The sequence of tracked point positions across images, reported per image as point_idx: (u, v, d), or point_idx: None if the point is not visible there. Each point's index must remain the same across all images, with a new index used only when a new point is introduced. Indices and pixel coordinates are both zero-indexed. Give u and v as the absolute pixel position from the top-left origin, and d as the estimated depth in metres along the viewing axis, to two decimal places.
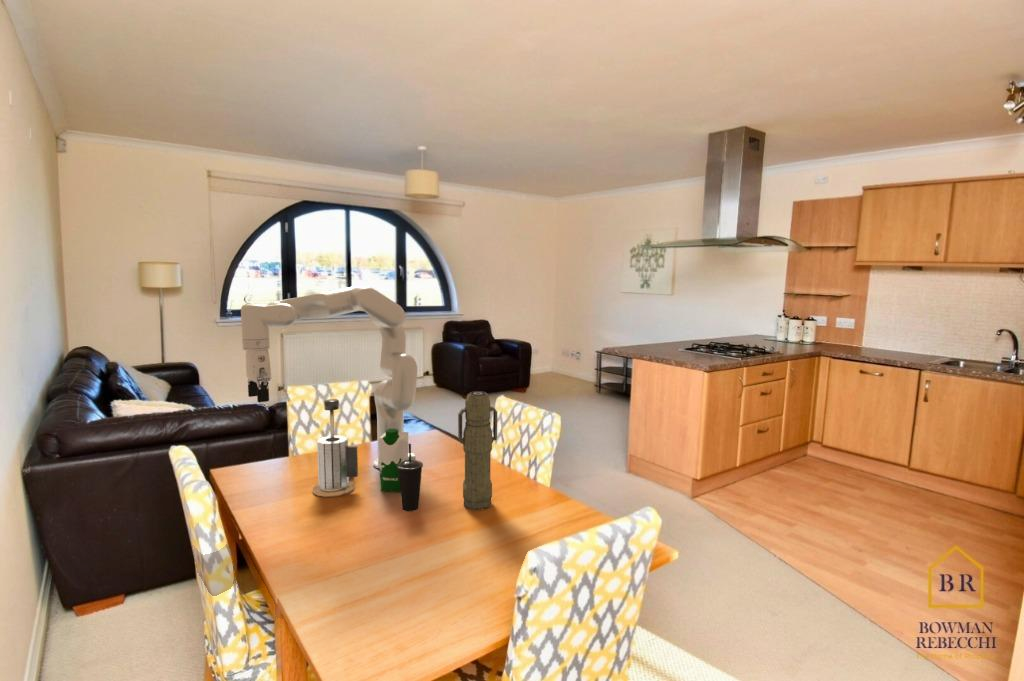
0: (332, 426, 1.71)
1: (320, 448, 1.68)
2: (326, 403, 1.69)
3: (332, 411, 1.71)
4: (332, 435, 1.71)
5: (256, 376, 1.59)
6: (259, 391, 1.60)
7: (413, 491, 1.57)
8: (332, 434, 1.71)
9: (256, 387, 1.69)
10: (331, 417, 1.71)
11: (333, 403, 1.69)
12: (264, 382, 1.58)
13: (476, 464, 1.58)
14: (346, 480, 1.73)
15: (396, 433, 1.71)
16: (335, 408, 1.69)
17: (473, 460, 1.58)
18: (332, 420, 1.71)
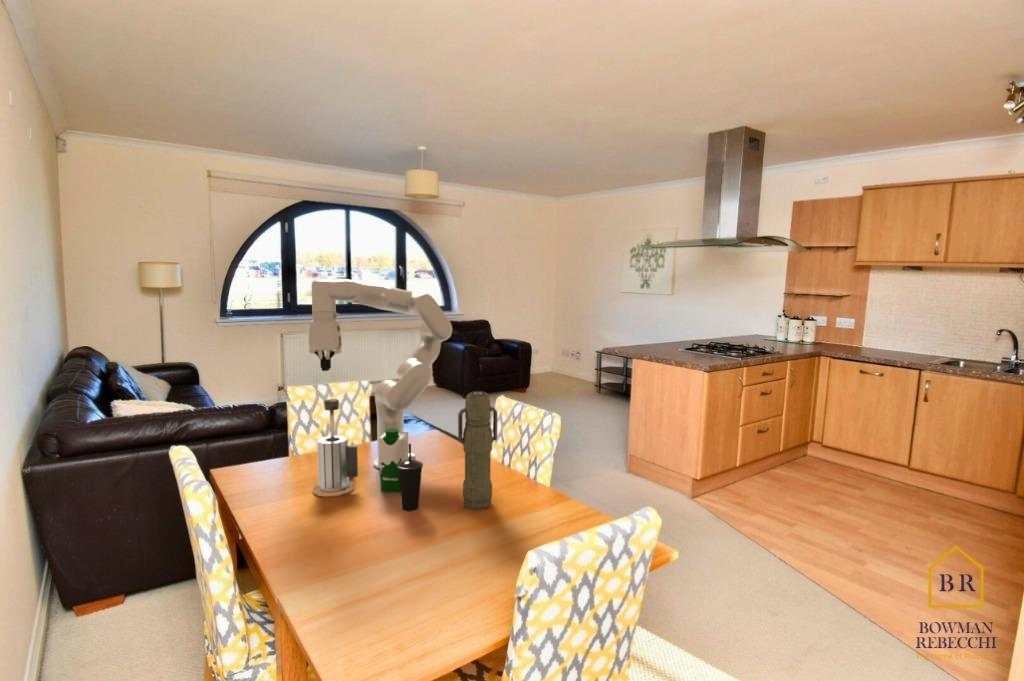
0: (332, 426, 1.71)
1: (320, 448, 1.68)
2: (326, 403, 1.69)
3: (332, 411, 1.71)
4: (332, 435, 1.71)
5: (337, 344, 1.79)
6: (326, 361, 1.80)
7: (413, 491, 1.57)
8: (332, 434, 1.71)
9: None
10: (331, 417, 1.71)
11: (333, 403, 1.69)
12: None
13: (476, 464, 1.58)
14: (346, 480, 1.73)
15: (396, 433, 1.71)
16: (335, 408, 1.69)
17: (473, 460, 1.58)
18: (332, 420, 1.71)
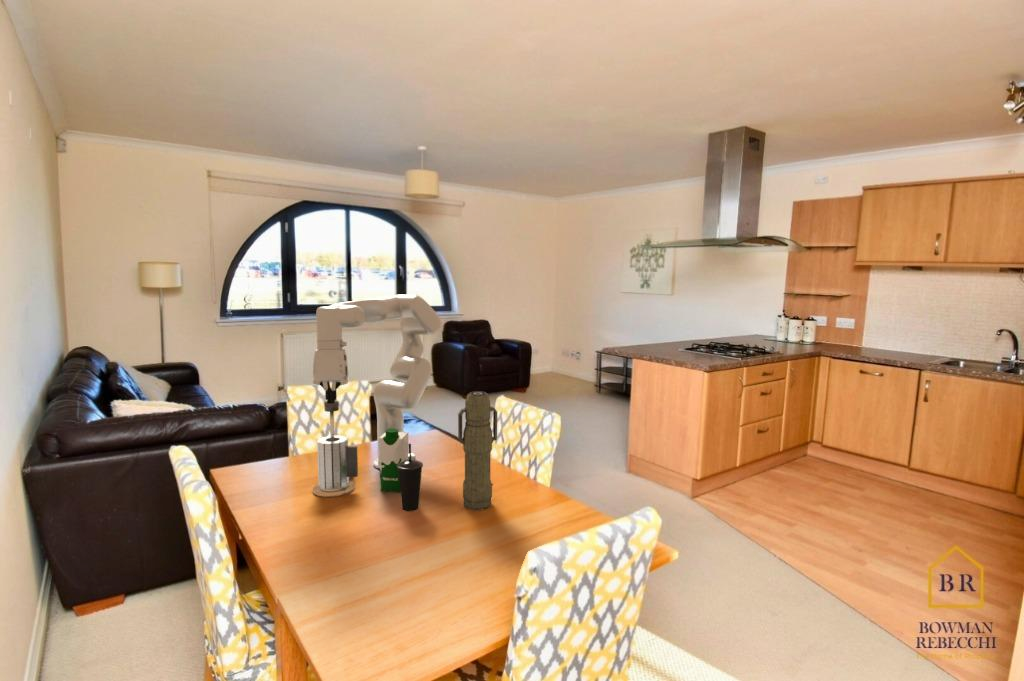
0: (332, 427, 1.71)
1: (320, 448, 1.68)
2: (326, 404, 1.69)
3: (332, 412, 1.71)
4: (332, 436, 1.71)
5: (344, 374, 1.68)
6: (332, 392, 1.69)
7: (413, 491, 1.57)
8: (332, 435, 1.71)
9: None
10: (331, 418, 1.71)
11: (333, 404, 1.69)
12: (341, 384, 1.70)
13: (476, 464, 1.58)
14: (346, 480, 1.73)
15: (396, 433, 1.71)
16: (335, 409, 1.69)
17: (473, 460, 1.58)
18: (332, 421, 1.71)
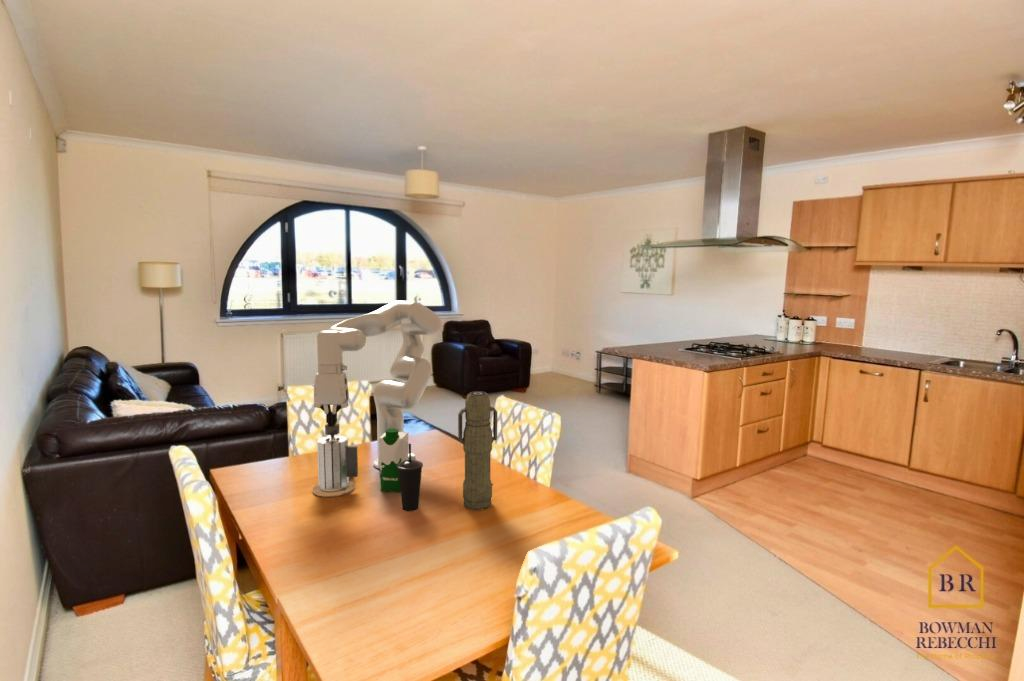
0: None
1: (320, 448, 1.68)
2: (327, 428, 1.70)
3: (333, 435, 1.72)
4: None
5: (345, 398, 1.69)
6: (333, 415, 1.70)
7: (413, 491, 1.57)
8: None
9: None
10: (332, 441, 1.72)
11: (334, 428, 1.70)
12: None
13: (476, 464, 1.58)
14: (346, 480, 1.73)
15: (396, 433, 1.71)
16: (336, 432, 1.70)
17: (473, 460, 1.58)
18: None
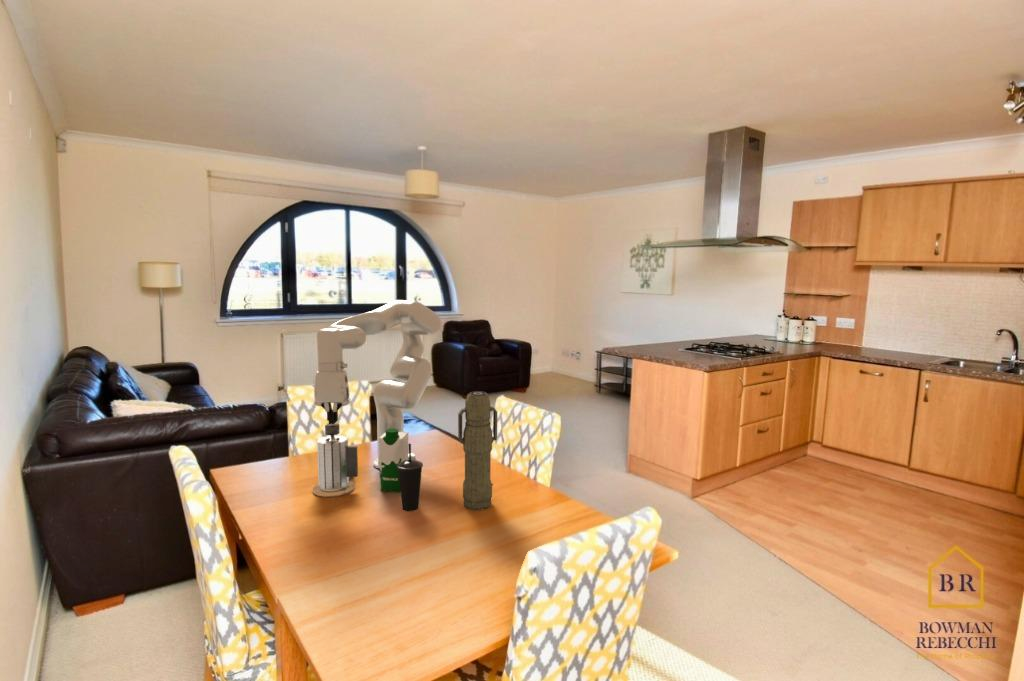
0: None
1: (320, 448, 1.68)
2: (327, 428, 1.70)
3: (333, 436, 1.72)
4: None
5: (345, 396, 1.69)
6: (333, 413, 1.70)
7: (413, 491, 1.57)
8: None
9: None
10: None
11: (334, 428, 1.70)
12: None
13: (476, 464, 1.58)
14: (346, 480, 1.73)
15: (396, 433, 1.71)
16: (336, 433, 1.70)
17: (473, 460, 1.58)
18: None
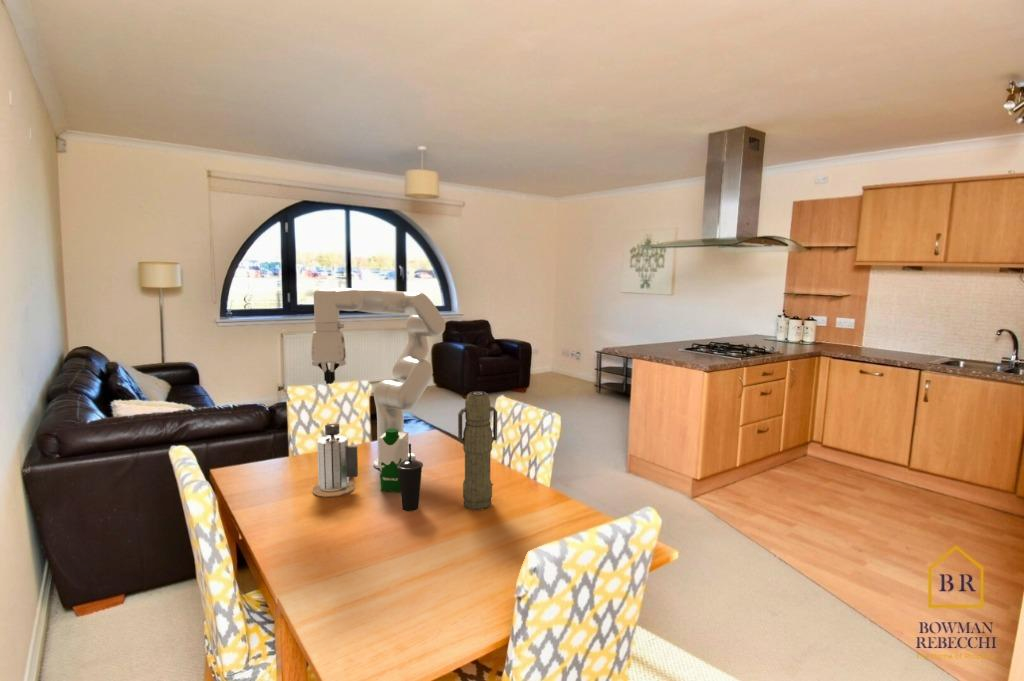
0: None
1: (320, 448, 1.68)
2: (327, 428, 1.70)
3: (333, 436, 1.72)
4: None
5: (342, 356, 1.72)
6: (331, 373, 1.73)
7: (413, 491, 1.57)
8: None
9: None
10: None
11: (334, 428, 1.70)
12: None
13: (476, 464, 1.58)
14: (346, 480, 1.73)
15: (396, 433, 1.71)
16: (336, 433, 1.70)
17: (473, 460, 1.58)
18: None
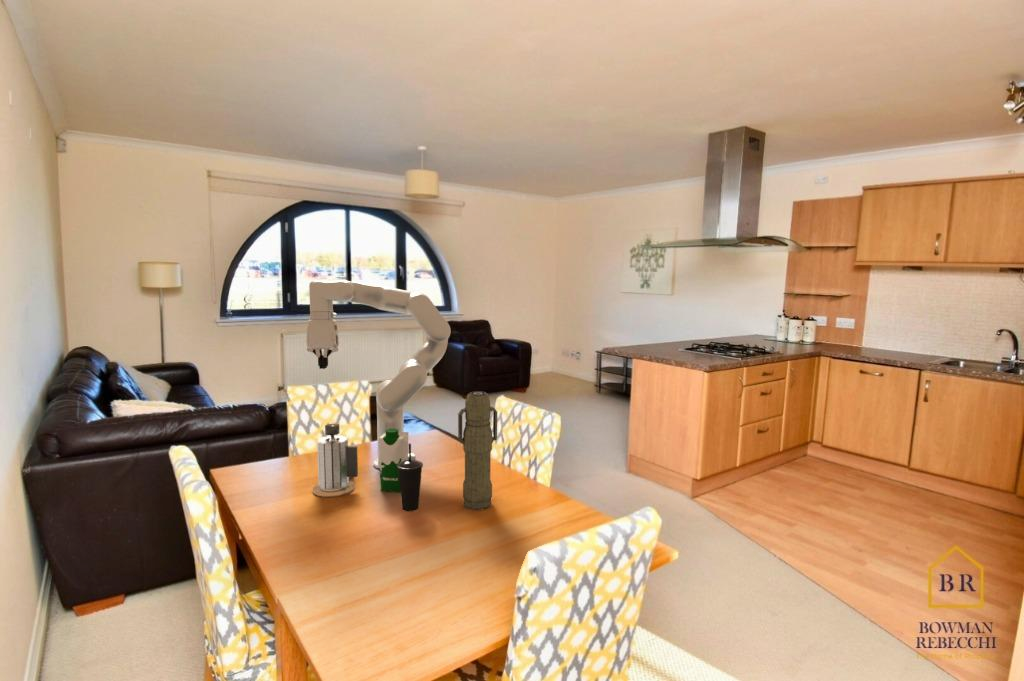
0: None
1: (320, 448, 1.68)
2: (327, 428, 1.70)
3: (333, 436, 1.72)
4: None
5: (335, 343, 1.85)
6: (324, 359, 1.86)
7: (413, 491, 1.57)
8: None
9: None
10: None
11: (334, 428, 1.70)
12: (332, 352, 1.87)
13: (476, 464, 1.58)
14: (346, 480, 1.73)
15: (396, 433, 1.71)
16: (336, 433, 1.70)
17: (473, 460, 1.58)
18: None
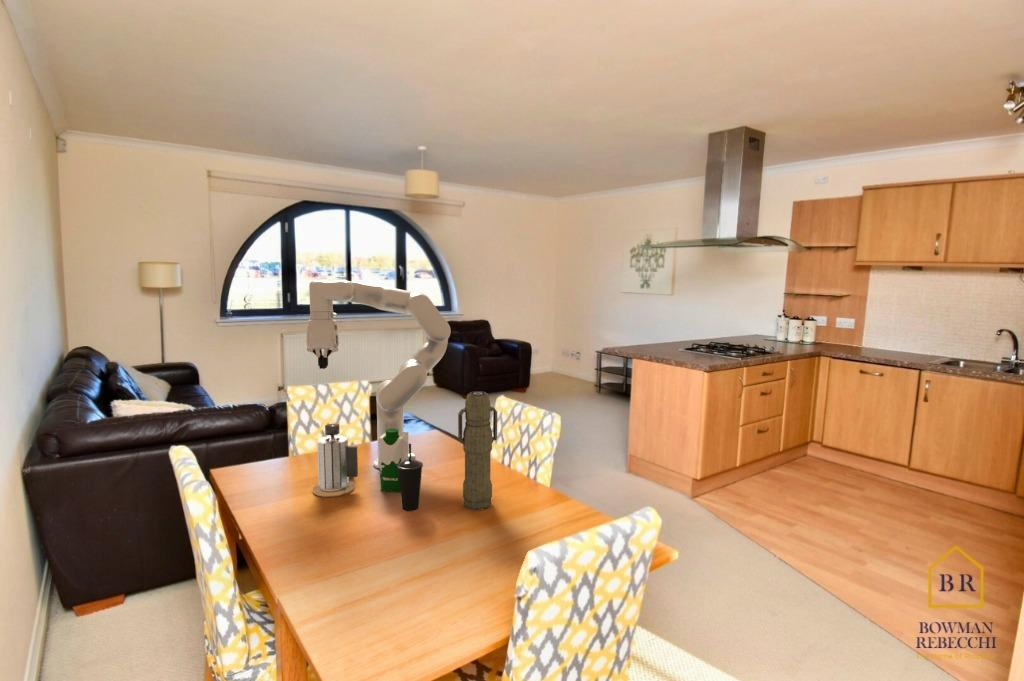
0: None
1: (320, 448, 1.68)
2: (327, 428, 1.70)
3: (333, 436, 1.72)
4: None
5: (335, 343, 1.85)
6: (324, 359, 1.86)
7: (413, 491, 1.57)
8: None
9: None
10: None
11: (334, 428, 1.70)
12: (332, 352, 1.87)
13: (476, 464, 1.58)
14: (346, 480, 1.73)
15: (396, 433, 1.71)
16: (336, 433, 1.70)
17: (473, 460, 1.58)
18: None
